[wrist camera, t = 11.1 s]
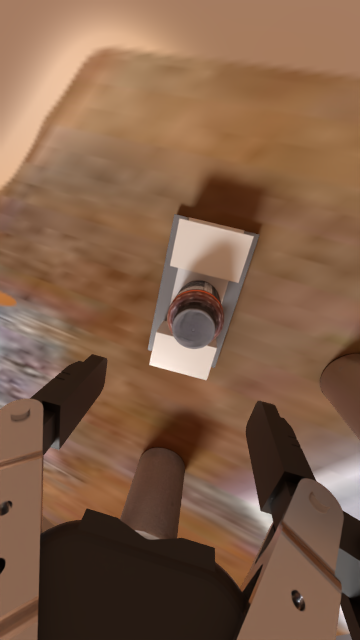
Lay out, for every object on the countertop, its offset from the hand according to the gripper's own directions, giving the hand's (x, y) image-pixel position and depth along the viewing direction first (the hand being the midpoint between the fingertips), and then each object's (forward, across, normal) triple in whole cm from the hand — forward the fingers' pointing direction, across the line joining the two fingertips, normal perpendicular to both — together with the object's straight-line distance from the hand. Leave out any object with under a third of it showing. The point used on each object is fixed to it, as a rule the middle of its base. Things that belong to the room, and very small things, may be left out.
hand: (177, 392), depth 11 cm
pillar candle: (+22, -2, +36) cm, 43 cm away
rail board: (+22, 0, 0) cm, 22 cm away
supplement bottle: (+20, 0, 0) cm, 20 cm away
